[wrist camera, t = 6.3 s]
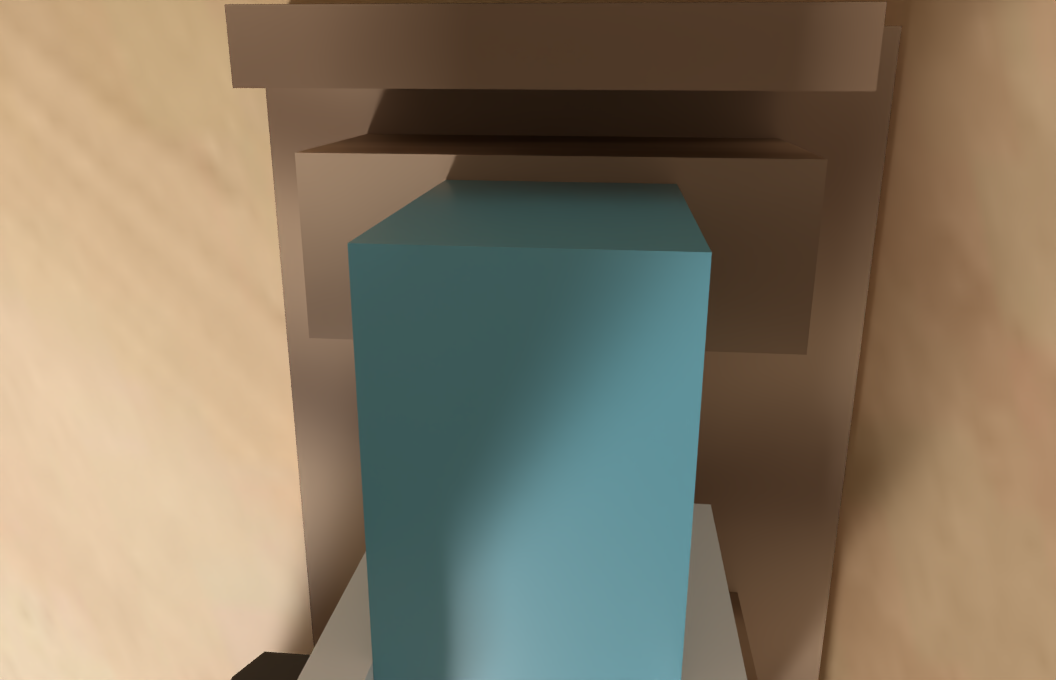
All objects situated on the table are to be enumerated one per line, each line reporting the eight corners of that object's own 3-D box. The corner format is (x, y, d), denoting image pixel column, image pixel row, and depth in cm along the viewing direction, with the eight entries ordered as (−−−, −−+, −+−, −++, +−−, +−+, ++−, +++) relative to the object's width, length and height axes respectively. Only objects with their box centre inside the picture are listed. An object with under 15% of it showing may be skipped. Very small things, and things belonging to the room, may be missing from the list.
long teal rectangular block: (445, 179, 13) (347, 242, 8) (676, 183, 13) (711, 252, 8) (461, 838, 17) (400, 1136, 12) (638, 854, 17) (646, 1166, 12)
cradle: (280, 29, 17) (73, 4, 11) (885, 28, 16) (1068, 1, 10) (334, 710, 23) (217, 976, 16) (797, 745, 22) (878, 1047, 15)
